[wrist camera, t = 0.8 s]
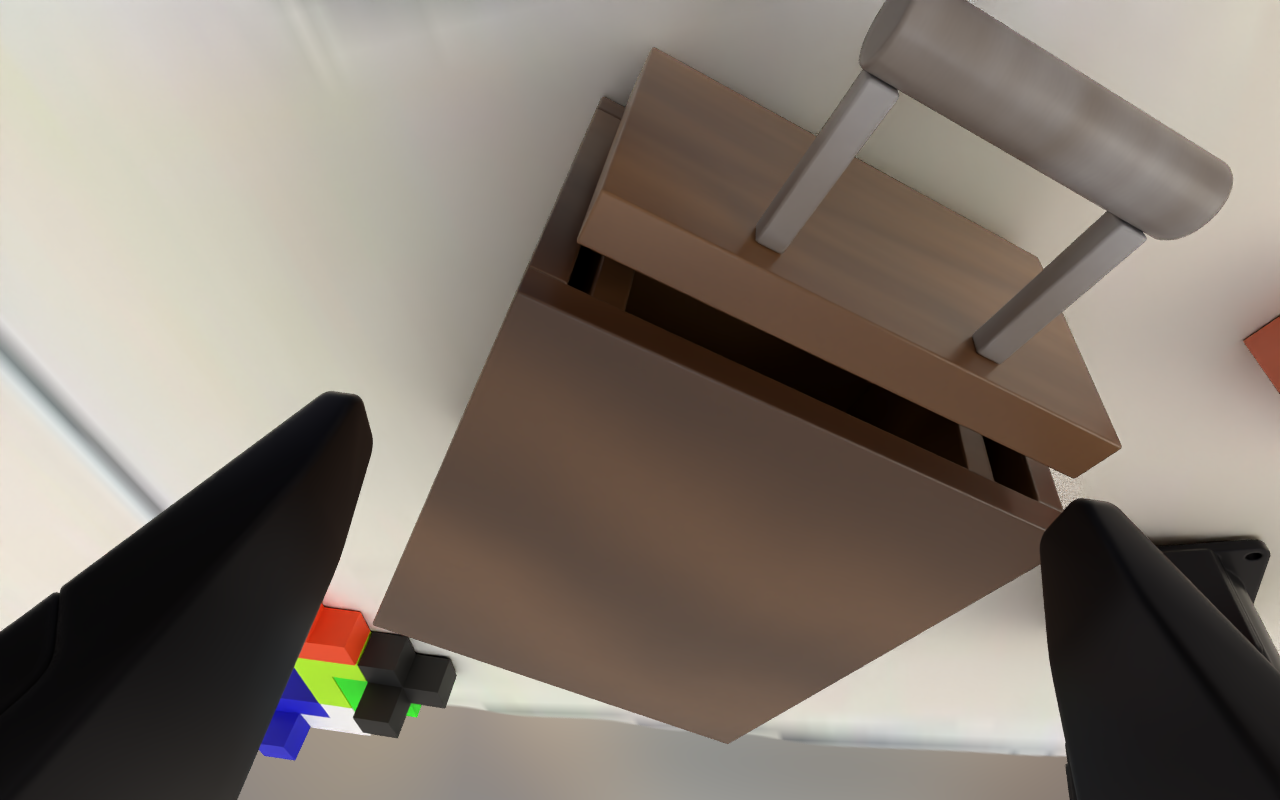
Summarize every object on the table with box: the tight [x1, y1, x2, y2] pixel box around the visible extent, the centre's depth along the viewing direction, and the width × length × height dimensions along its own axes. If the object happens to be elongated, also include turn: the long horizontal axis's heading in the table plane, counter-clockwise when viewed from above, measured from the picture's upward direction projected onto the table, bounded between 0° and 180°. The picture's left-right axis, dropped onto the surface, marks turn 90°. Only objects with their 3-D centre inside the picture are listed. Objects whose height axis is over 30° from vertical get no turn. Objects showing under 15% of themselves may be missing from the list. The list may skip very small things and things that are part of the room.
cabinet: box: [373, 97, 1063, 744], centre depth 22 cm, size 15×13×9 cm
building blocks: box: [259, 603, 457, 760], centre depth 43 cm, size 15×13×4 cm
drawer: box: [569, 0, 1233, 481], centre depth 19 cm, size 18×11×7 cm, turn 155°
